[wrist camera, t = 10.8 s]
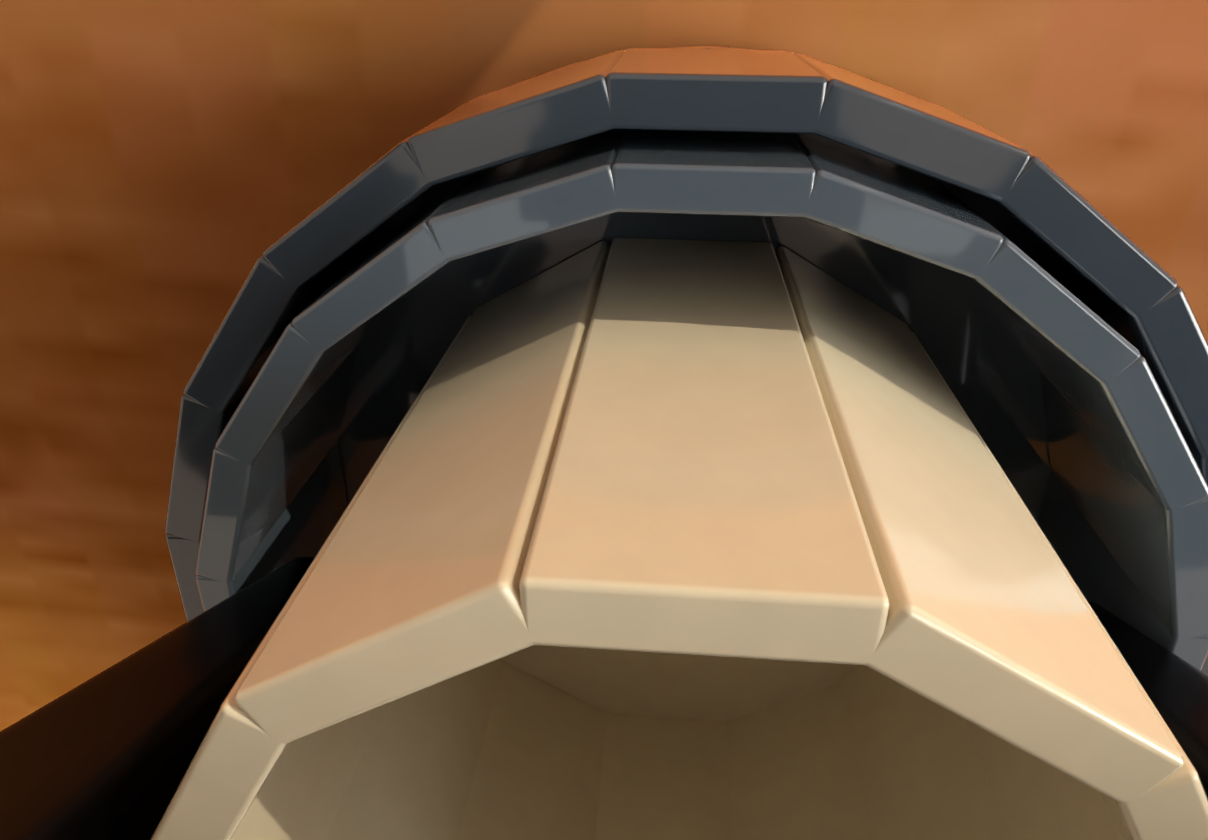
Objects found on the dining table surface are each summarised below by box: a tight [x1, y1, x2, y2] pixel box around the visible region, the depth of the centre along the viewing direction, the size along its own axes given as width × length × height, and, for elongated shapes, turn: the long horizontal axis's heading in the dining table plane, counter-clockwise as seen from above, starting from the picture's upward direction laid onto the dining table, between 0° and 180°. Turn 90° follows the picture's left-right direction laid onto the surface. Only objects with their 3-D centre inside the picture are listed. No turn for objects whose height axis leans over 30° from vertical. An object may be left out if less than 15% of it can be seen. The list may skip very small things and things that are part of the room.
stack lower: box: [165, 46, 1208, 675], centre depth 10 cm, size 10×10×3 cm
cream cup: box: [151, 238, 1208, 840], centre depth 8 cm, size 7×7×6 cm
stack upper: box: [196, 129, 1208, 671], centre depth 10 cm, size 9×9×4 cm
